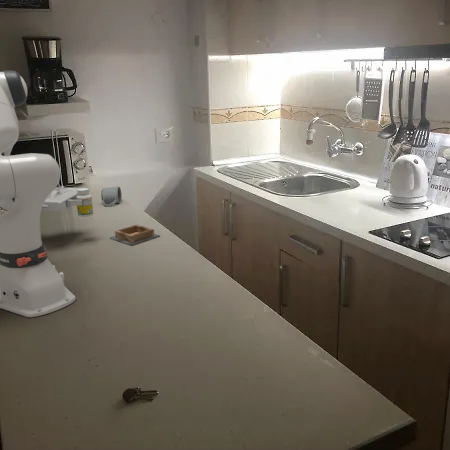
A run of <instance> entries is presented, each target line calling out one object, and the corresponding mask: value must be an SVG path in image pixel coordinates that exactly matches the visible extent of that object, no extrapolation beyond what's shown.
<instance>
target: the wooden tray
mask: <svg viewBox="0 0 450 450" xmlns="http://www.w3.org/2000/svg"><path fill="white" fill-rule="evenodd" d="M114 234H115V235H114V236H111V237H109V239H110V240H112V241H114V242H118V243H122V244H124V245H128V246H131V247H132V246H137V245H139V244H142V243H145V242H147V241H151V240H154V239H157V238H160V237H161V235H159V234H157V233H155V229H154V228H150V227H147V226H145V225H143V226H142V225H139V224H135V225H130V226H127V227H124V228H120V229H118V230H114Z"/></svg>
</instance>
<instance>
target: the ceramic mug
mask: <svg viewBox="0 0 450 450" xmlns="http://www.w3.org/2000/svg"><path fill="white" fill-rule="evenodd" d="M100 193H101V194H100V198H101V202H102V203H103V205H104V207H108V208H109V207H112V206H115V205H116V204H121V203H122V198H123V196H122V194H123V193H122V189H121V187H120V186H119V185H118V186H111V187H104V188H102V189H101V191H100Z"/></svg>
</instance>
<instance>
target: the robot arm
mask: <svg viewBox="0 0 450 450" xmlns="http://www.w3.org/2000/svg"><path fill="white" fill-rule="evenodd" d="M27 86H28V85H27V83H26V82H25V80H24V78H23V77H22V76H21V75H20V73H19V72H17V71H16V70H3V71H0V209H2V210H4V212H2V213H1V214H0V309H2V310H5V311H9V312H11V313H14V314H17V315H21V316H23V317H26V318H34V317H40V316H43V315H47V314H50V313H53V312H55V311H58V310H61V309H64V308H65V307H68V306H69V305H70V304H72V303H74V302H75V301H76V295H75V294H73V293H72V291H70V290H69V289H68V288H67V287H66V286H65V283H64V280H65V274H64V272H63V271H60V272H58V271H57V269H56V266H55V264H52V263H51V261H50V260H49V258H48V252H47V249H46V247H45V245H44V243H43V241H42V234H41V221H40V220H41V212H45V213H46V212H47V213H48V212H49V213H56V212H59V213H60V212H63V211H65V210H67V209H69V208H70V207H75V206H76V207H77V205H82V204H83V200H82V199H78V200H76V196H77V195H78V193H77V189H80V188H81V187H80V188H79V187H65V186H64V185H59V183H60V180H61V169H60V165H59V164H58V162H57V161H56V159H55V158H54V157H53V156H52V155H51V154H48V153H36V152H35V153H34V152H33V153H32V152H30V153H21V154H20V153H19V154H15V155H11V152H12V150H13V147H14V145H15V144H16V143H17V141H18V139H19V136H20V135H19V134H20V125H19V118H18V116H17V113H16V111H15V108H17V107H20V106H22V105H24V104H25V103H26V101H27V100H28V87H27ZM58 185H59V186H58Z"/></svg>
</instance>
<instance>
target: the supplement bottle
mask: <svg viewBox="0 0 450 450" xmlns="http://www.w3.org/2000/svg"><path fill="white" fill-rule="evenodd" d="M77 193H78V195H77V196H76V200H78V199H82V200H83V204H82V205H76V209H77V215H78V217H81V218H86V217H88V218H89V217H92V216H93V215H94V207H93V199H92V197H93V196H92V195H91V194H90V189H89V188H88V187H82V188H81V187H80V189H77Z"/></svg>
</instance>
